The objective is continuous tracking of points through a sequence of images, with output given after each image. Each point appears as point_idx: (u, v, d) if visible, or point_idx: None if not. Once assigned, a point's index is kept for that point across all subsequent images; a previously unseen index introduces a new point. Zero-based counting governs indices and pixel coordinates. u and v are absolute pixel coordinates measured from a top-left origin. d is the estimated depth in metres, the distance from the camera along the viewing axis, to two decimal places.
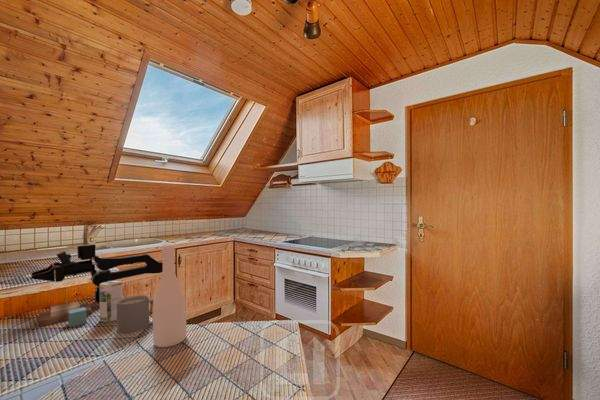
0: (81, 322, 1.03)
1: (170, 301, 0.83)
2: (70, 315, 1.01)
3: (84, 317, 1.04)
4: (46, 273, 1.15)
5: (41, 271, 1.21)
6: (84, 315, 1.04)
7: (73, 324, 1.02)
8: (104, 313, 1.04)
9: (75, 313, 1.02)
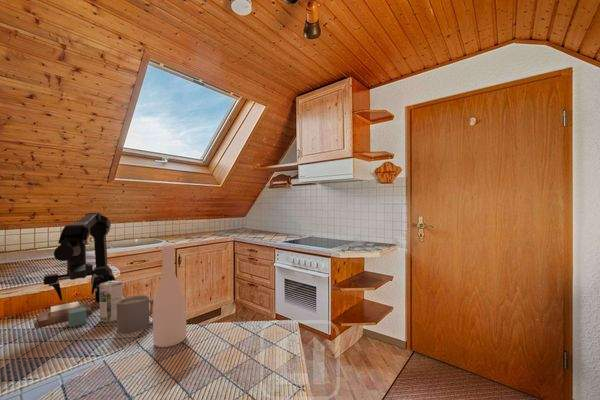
0: (81, 322, 1.03)
1: (170, 301, 0.83)
2: (70, 315, 1.01)
3: (84, 317, 1.04)
4: None
5: None
6: (84, 315, 1.04)
7: (73, 324, 1.02)
8: (104, 313, 1.04)
9: (75, 313, 1.02)
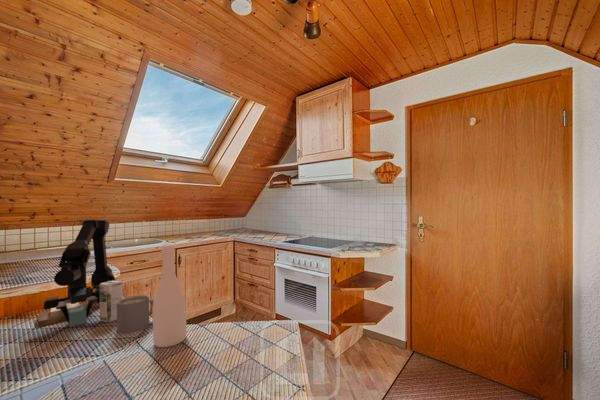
0: (81, 322, 1.03)
1: (170, 301, 0.83)
2: (70, 315, 1.01)
3: (84, 317, 1.04)
4: None
5: None
6: (84, 315, 1.04)
7: (73, 324, 1.02)
8: (104, 313, 1.04)
9: (75, 313, 1.02)
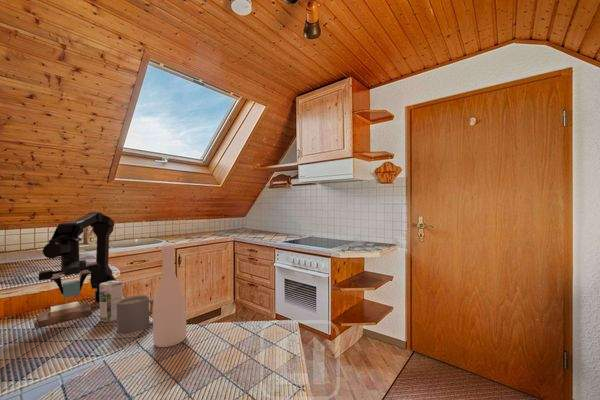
0: (75, 293, 1.08)
1: (170, 301, 0.83)
2: (64, 286, 1.06)
3: (78, 289, 1.09)
4: None
5: None
6: (78, 287, 1.09)
7: (67, 295, 1.07)
8: (104, 313, 1.04)
9: (69, 285, 1.07)
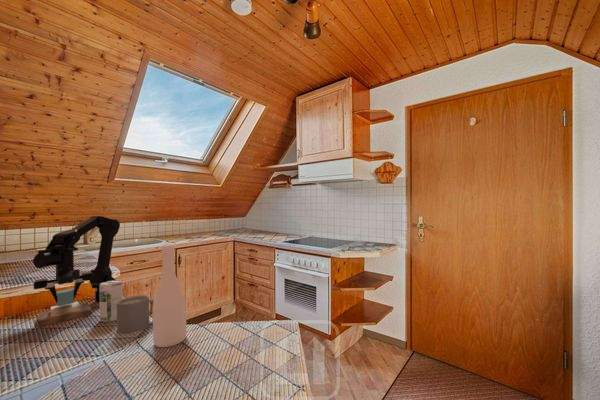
0: (69, 302, 1.12)
1: (170, 301, 0.83)
2: (58, 295, 1.10)
3: (71, 297, 1.12)
4: None
5: (56, 294, 1.11)
6: (71, 295, 1.12)
7: (61, 303, 1.10)
8: (104, 313, 1.04)
9: (63, 293, 1.11)
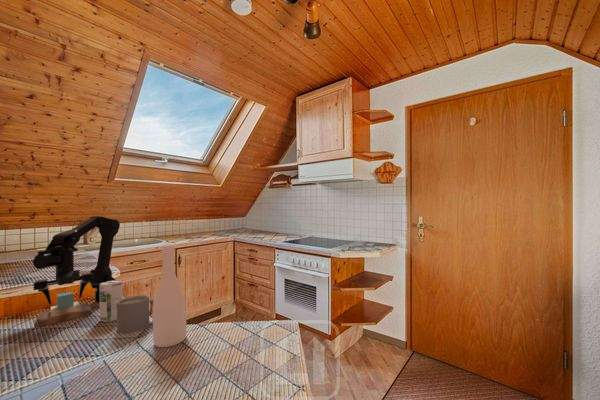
0: (68, 305, 1.12)
1: (170, 301, 0.83)
2: (58, 298, 1.10)
3: (71, 300, 1.12)
4: None
5: None
6: (71, 299, 1.12)
7: (61, 306, 1.10)
8: (104, 313, 1.04)
9: (63, 296, 1.11)
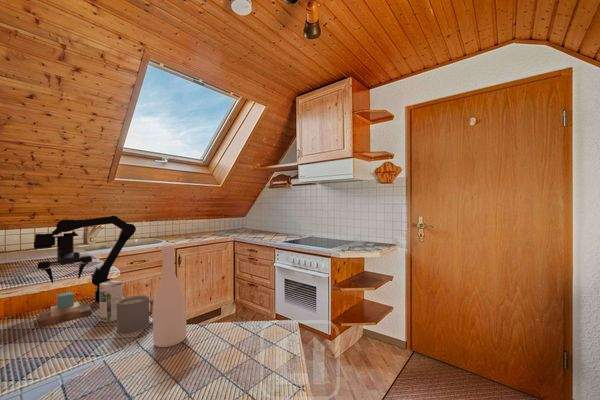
0: (68, 305, 1.12)
1: (170, 301, 0.83)
2: (58, 298, 1.10)
3: (71, 300, 1.12)
4: None
5: (52, 276, 1.21)
6: (71, 299, 1.12)
7: (61, 306, 1.10)
8: (104, 313, 1.04)
9: (63, 296, 1.11)
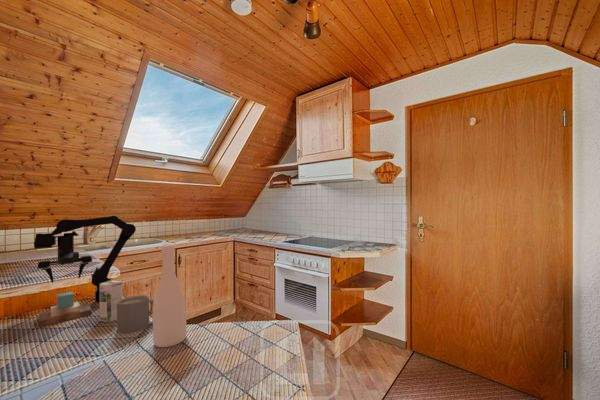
0: (68, 305, 1.12)
1: (170, 301, 0.83)
2: (58, 298, 1.10)
3: (71, 300, 1.12)
4: None
5: (52, 275, 1.22)
6: (71, 299, 1.12)
7: (61, 306, 1.10)
8: (104, 313, 1.04)
9: (63, 296, 1.11)
